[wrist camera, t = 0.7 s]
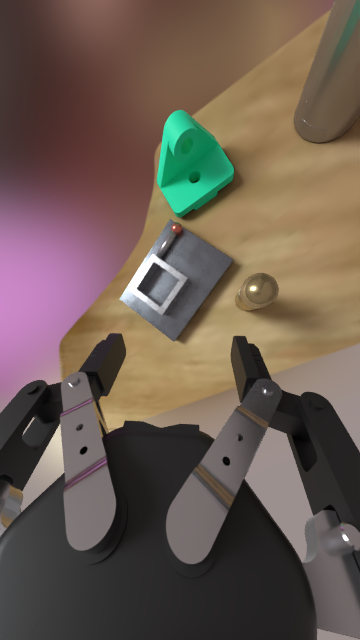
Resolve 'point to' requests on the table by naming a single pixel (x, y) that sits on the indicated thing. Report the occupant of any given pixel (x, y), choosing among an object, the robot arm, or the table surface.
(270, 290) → the brass cylinder peg
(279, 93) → the table surface
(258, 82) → the table surface
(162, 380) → the table surface
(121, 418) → the table surface
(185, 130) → the camera mount
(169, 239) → the dock
